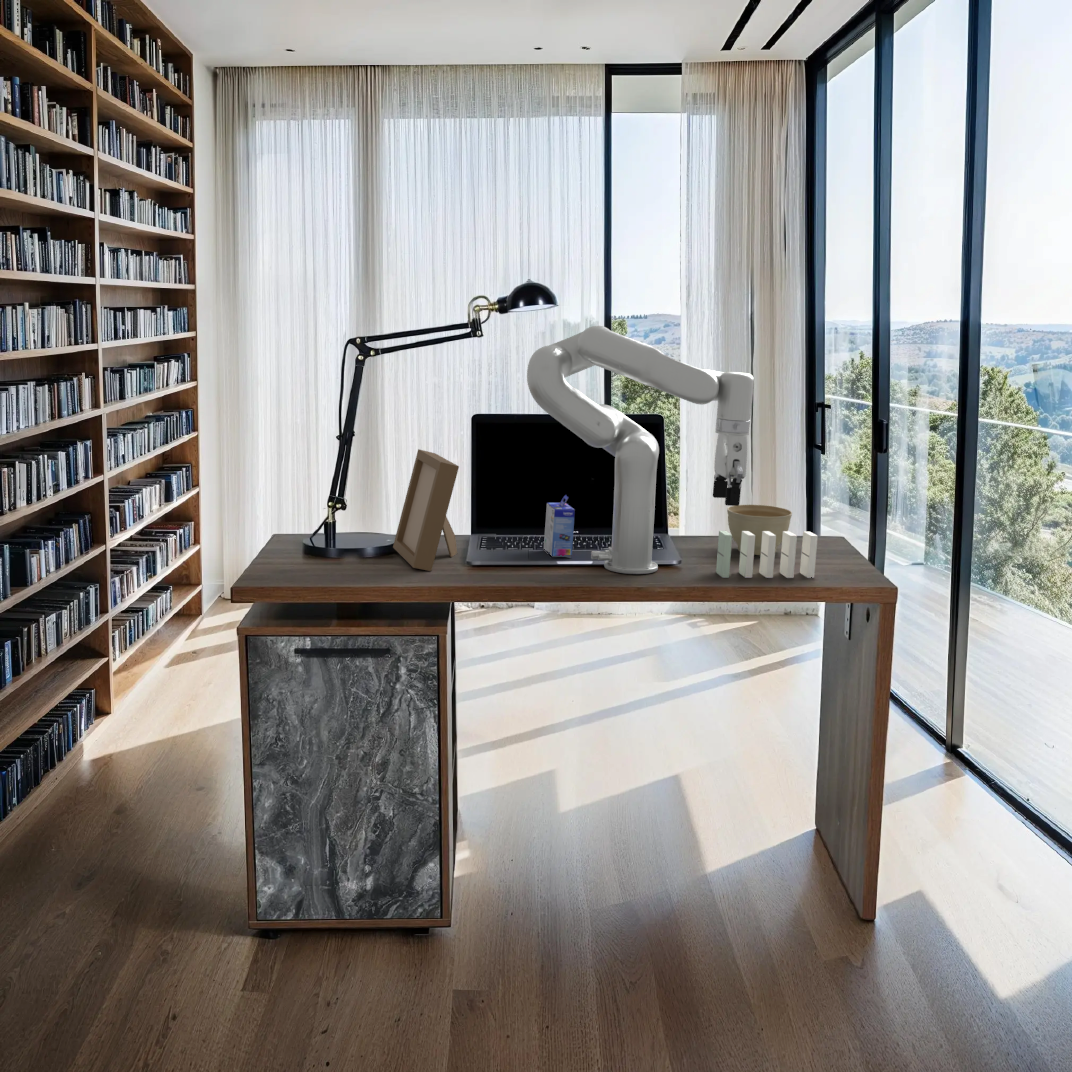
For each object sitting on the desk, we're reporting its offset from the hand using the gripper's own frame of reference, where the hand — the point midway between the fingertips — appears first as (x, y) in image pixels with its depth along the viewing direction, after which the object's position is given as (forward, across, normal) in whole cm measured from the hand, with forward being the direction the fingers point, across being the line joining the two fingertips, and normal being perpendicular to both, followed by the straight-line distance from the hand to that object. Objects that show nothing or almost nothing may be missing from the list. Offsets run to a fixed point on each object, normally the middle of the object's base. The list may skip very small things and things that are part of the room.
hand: (725, 501), depth 261 cm
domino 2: (+17, 0, -6) cm, 18 cm away
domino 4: (+17, 0, -16) cm, 24 cm away
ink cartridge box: (+18, +21, +35) cm, 44 cm away
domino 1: (+17, 0, -1) cm, 17 cm away
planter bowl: (+17, +25, -17) cm, 35 cm away
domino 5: (+17, 0, -21) cm, 27 cm away
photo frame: (+19, +14, +66) cm, 70 cm away
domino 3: (+17, 0, -11) cm, 21 cm away
